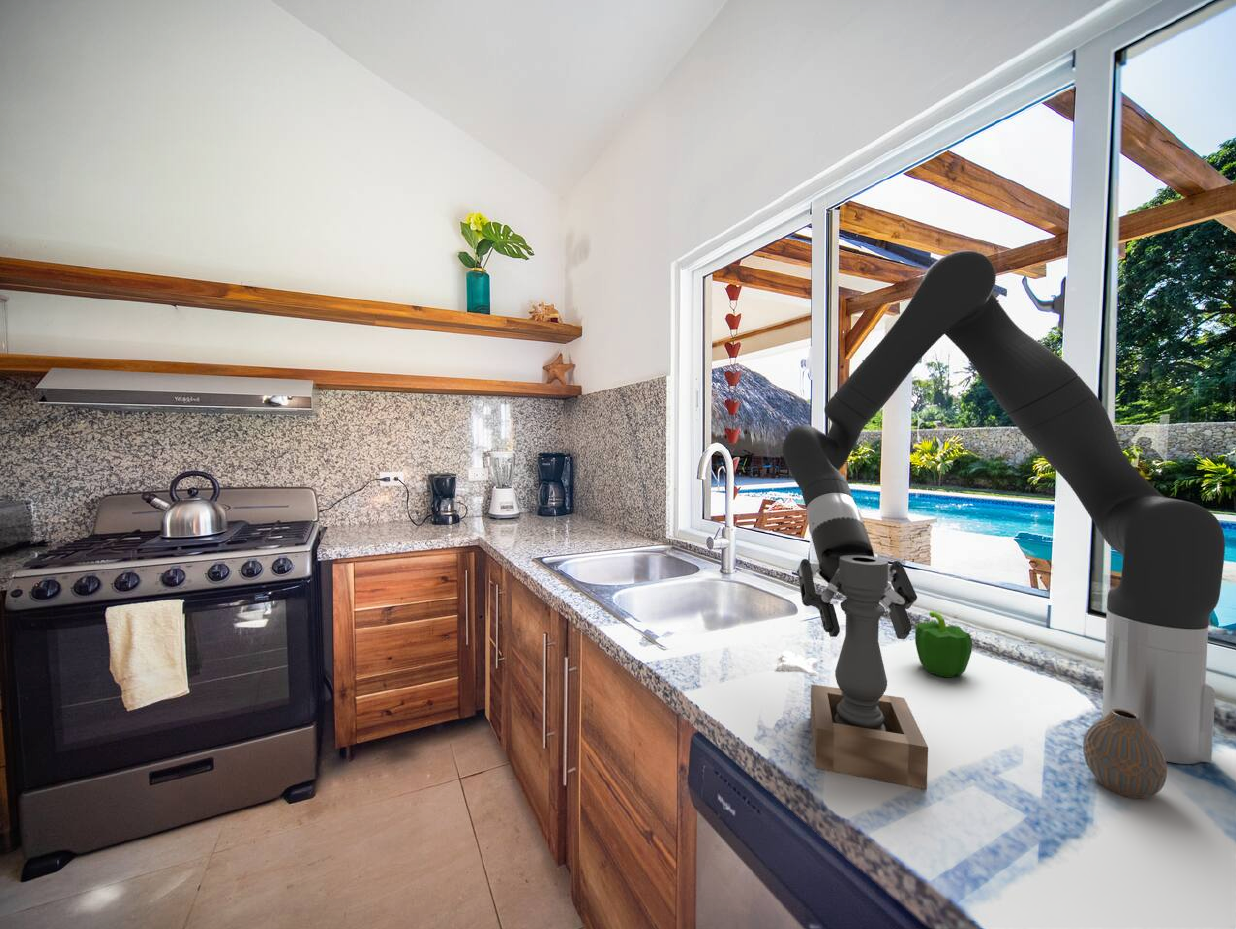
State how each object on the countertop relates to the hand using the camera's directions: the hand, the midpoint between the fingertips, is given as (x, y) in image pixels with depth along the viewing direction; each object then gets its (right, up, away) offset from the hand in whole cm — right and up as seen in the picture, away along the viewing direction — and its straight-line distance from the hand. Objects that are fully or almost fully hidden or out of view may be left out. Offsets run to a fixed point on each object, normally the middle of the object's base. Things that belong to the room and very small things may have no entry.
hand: (869, 635), depth 64 cm
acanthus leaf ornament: (+1, -15, +27) cm, 31 cm away
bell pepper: (+25, -15, +25) cm, 39 cm away
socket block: (0, -16, +2) cm, 16 cm away
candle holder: (0, -16, +2) cm, 16 cm away
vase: (+27, -16, -5) cm, 32 cm away
